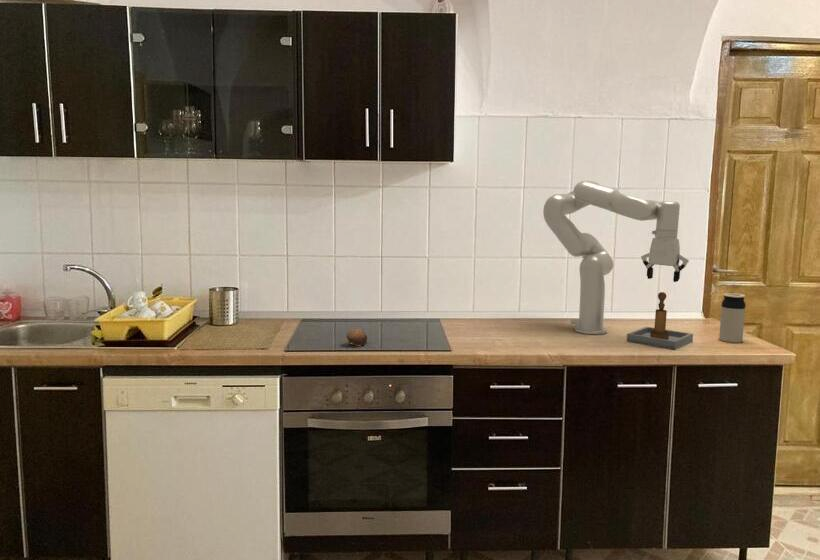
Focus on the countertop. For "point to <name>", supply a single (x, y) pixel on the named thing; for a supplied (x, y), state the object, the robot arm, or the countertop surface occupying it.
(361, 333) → the mushroom
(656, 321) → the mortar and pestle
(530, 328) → the countertop surface
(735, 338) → the travel mug
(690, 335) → the tray
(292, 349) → the countertop surface
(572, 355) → the countertop surface
